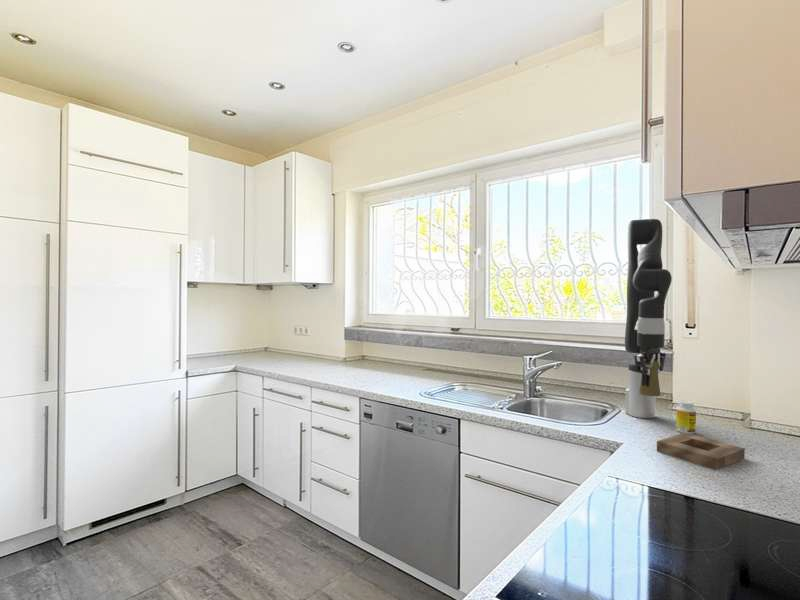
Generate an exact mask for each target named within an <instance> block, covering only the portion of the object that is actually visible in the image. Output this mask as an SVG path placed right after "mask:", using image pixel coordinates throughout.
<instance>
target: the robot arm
mask: <svg viewBox="0 0 800 600" xmlns="http://www.w3.org/2000/svg"><path fill="white" fill-rule="evenodd" d="M662 244H663V225H662V222H661V220H660V219H657V218H647V219H646V218H645V219H644V218H643V219H633V220H630V221H629V222H628V225H627V255H628V256H627V258H628V259H627V260H628V262H627V263H628V264H627V281H626V324H625V332H624V348H625V349H624V350H625V351H626V352H627V353H630V354H631V353H632V354H634V357H633V358H634V361H630V362H629V364H628V375H627V377H628V378H627V379H628V381H627V382H628V383H627V384H628V387H627V388H626V389H625V405H624V406H625V407H624V408H625V410H624V411H625V414H627V415H629V416H632V417H635V418H640V419H654V418H655V417H656V396H646V395H642V394H639V389H640V383H641V377H642V386H644V385H646V386H647V387H648V386H649V381H650V368H652V364H653V362H654V360H656V361H658V362H659V365H660V367H659V369H658V375H659V374H660V372H663V370H664V366H665V361H666V356H667V355H666V354H667V353H666V352H661V349H663V348H665V339H666V337H665V333H666V331H665V330H666V328H665V327H666V325H665V318H664V317H665V303H666V298H667V295H668V292H669V289H670V287H671V285H672V284H671V283H672V280H673V279H672V278H673V277H672V274H671V272H670V271H669V270H668V269H665V268H663V259H662ZM638 245H639V246H642V245H644V247H642V248H641V249H640V251H639V250H638ZM655 292H657V294H656V293H655ZM655 294H656V295H655ZM636 325H637V328H636ZM645 363H649V365H646V364H645ZM646 367H647V370H646Z"/></svg>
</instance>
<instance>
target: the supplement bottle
mask: <svg viewBox="0 0 800 600" xmlns="http://www.w3.org/2000/svg"><path fill="white" fill-rule="evenodd" d="M696 421H697V410H696V408H694V402H693V401H688V400H680V401H679V406H677V407H676V421H675V422H676V423H675V425H676V426H675V427H676V428H675V429H676V431H677V432H679V433H681V432H682V433H689V434H693V435H695V433H696V430H697V429H696V428H697V425H696V424H697V422H696Z"/></svg>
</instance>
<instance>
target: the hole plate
mask: <svg viewBox="0 0 800 600" xmlns="http://www.w3.org/2000/svg"><path fill="white" fill-rule="evenodd" d="M745 450H746V448H744V447H741V446H738V445H733V444H731V443H726V442H722V441H718V440H714V439H710V438H707V437H703V436H700V435H696V434H689V433H681V432H680V433H679V434H675V435H672V436H669V437H665V438H662V439H659V440H656V452H660V453H662V454H665V455H668V456H671V457H676V458H679V459H681V460H684V461H687V462H691V463H694V464H697V465H700V466H703V467H706V468H710V469H713V470H715V471H719V470H721V469H723V468H726V467H728V466H730V465H732V464H734V463H737V461H738V462H740V461H742V459H743V460H745V458H746V457H745V452H746V451H745Z"/></svg>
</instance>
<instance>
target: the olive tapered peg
mask: <svg viewBox="0 0 800 600" xmlns="http://www.w3.org/2000/svg"><path fill="white" fill-rule="evenodd" d="M645 364H646V365H649V363H645ZM659 367H660V365H659V362H658V361H656V360H654V362H653V364H652V368H650V381H649V386H648V387H647V386H646V385H644V386H642V377H641V383H640V389H639V394H642V395H646V396H655V397H660V396H661V389H660V380H659V374H658V369H659ZM646 370H647V367H646Z"/></svg>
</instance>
